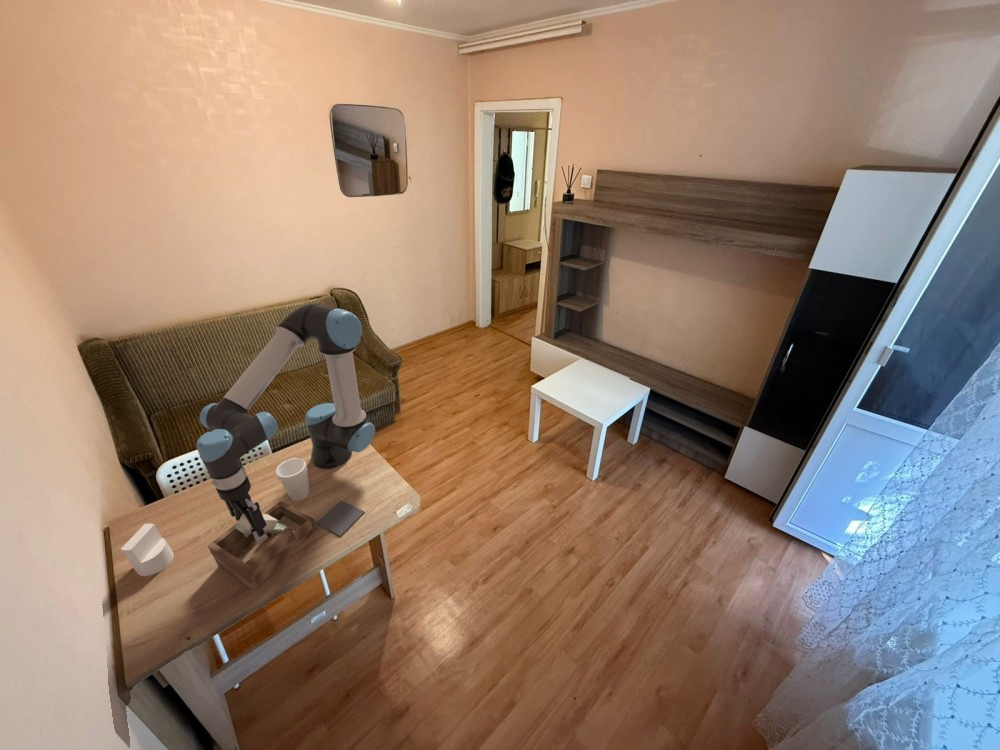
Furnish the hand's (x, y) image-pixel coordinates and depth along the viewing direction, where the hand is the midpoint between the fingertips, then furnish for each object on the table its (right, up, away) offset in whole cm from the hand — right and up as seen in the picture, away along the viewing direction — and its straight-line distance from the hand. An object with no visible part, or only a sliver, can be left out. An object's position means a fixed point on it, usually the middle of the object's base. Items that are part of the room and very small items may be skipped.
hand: (256, 537), depth 122 cm
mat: (+19, 0, +16) cm, 25 cm away
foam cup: (+1, +6, +25) cm, 25 cm away
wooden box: (+1, -6, +6) cm, 8 cm away
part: (0, +3, -1) cm, 4 cm away
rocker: (+1, +1, +2) cm, 3 cm away
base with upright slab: (-31, -8, +1) cm, 32 cm away
